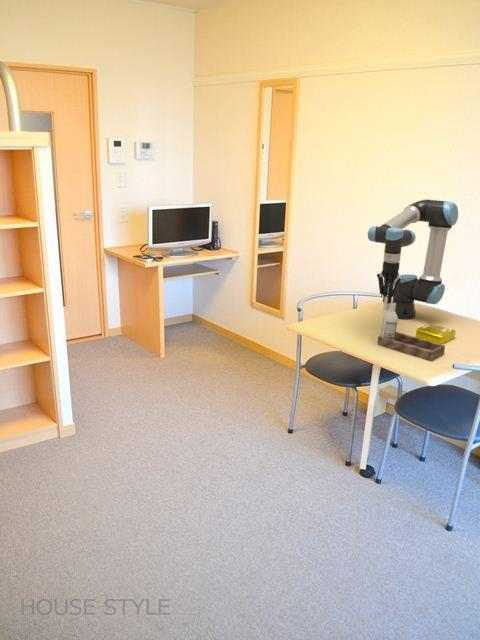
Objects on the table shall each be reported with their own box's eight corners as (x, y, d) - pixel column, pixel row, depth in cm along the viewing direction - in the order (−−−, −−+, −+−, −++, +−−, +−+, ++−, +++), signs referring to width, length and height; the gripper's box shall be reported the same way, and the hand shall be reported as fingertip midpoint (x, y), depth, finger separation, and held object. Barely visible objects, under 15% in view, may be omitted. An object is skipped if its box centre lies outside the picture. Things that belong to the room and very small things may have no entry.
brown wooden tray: (377, 344, 262) (378, 337, 260) (391, 338, 270) (392, 330, 269) (431, 361, 243) (432, 352, 242) (443, 353, 252) (445, 345, 251)
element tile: (428, 330, 283) (429, 322, 282) (455, 338, 273) (457, 329, 271) (413, 337, 273) (415, 328, 272) (441, 345, 263) (443, 336, 262)
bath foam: (396, 343, 264) (403, 305, 256) (385, 345, 261) (392, 306, 254) (387, 338, 270) (393, 300, 262) (376, 339, 267) (382, 301, 259)
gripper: (375, 260, 255) (370, 307, 263) (400, 265, 247) (394, 314, 254) (383, 258, 260) (378, 304, 268) (408, 262, 252) (402, 310, 259)
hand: (386, 309), depth 261 cm, fingers closed
